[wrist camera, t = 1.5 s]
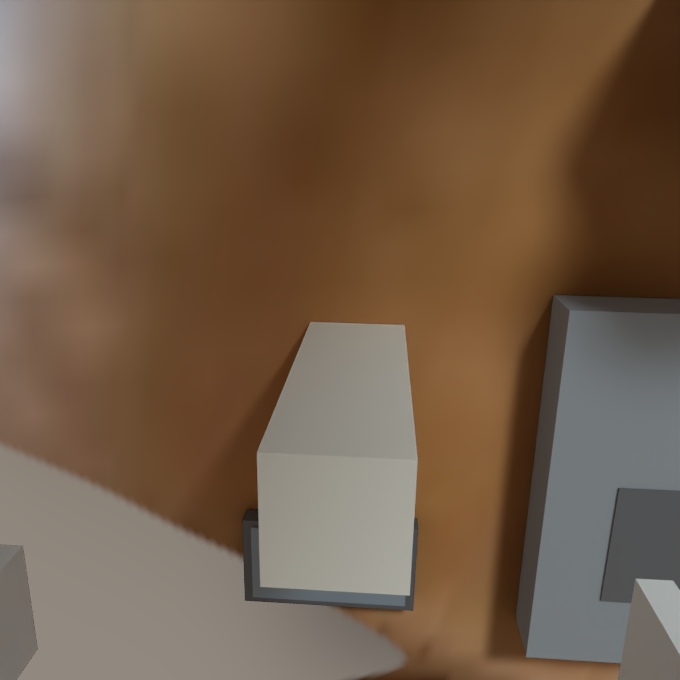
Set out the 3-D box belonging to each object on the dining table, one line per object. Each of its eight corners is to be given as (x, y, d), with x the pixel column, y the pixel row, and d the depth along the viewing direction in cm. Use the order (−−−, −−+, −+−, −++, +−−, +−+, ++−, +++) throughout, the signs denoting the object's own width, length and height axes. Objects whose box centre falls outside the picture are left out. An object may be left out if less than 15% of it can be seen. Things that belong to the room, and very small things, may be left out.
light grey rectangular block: (310, 321, 28) (256, 452, 16) (404, 325, 27) (417, 460, 16) (310, 408, 29) (260, 586, 17) (400, 412, 29) (409, 595, 17)
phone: (246, 509, 31) (242, 521, 30) (416, 518, 30) (417, 531, 29) (248, 588, 32) (244, 601, 31) (412, 597, 31) (413, 612, 30)
